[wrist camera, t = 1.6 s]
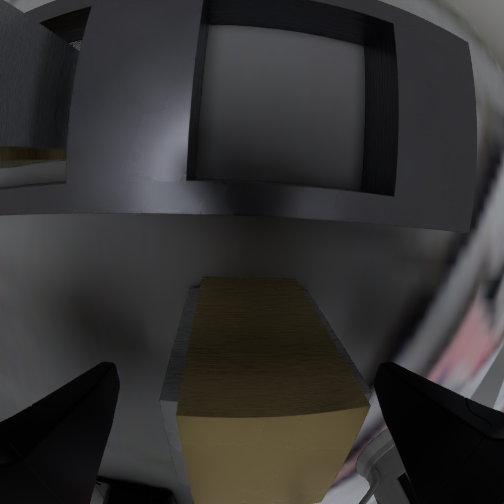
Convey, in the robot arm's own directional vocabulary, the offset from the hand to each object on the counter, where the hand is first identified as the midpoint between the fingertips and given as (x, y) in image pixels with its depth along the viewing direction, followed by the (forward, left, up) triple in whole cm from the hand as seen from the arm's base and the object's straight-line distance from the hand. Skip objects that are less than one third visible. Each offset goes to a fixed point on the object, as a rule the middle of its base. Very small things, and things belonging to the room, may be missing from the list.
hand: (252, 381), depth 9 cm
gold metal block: (0, 0, -3) cm, 3 cm away
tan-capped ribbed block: (+9, +9, -3) cm, 13 cm away
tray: (+9, +3, -3) cm, 10 cm away
